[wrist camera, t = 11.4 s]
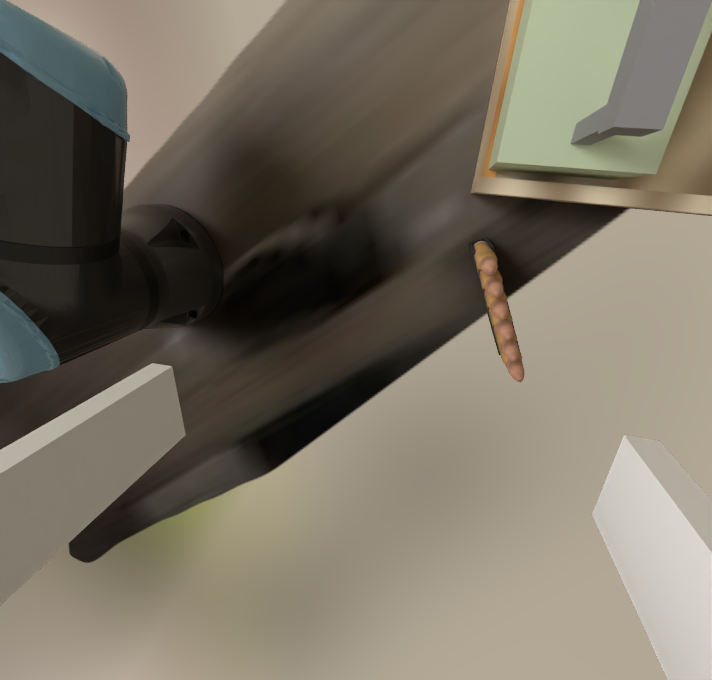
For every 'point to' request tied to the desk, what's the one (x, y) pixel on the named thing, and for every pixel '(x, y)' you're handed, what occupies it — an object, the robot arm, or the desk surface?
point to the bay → (651, 192)
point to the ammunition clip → (497, 306)
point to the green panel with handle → (598, 85)
